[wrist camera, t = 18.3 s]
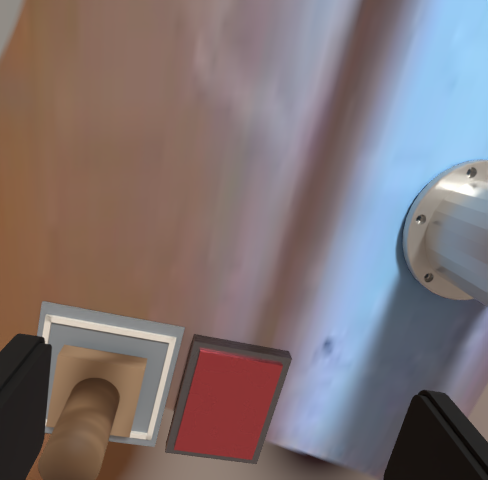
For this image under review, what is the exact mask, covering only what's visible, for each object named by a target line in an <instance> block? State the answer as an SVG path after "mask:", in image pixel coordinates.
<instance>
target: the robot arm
mask: <svg viewBox="0 0 488 480" xmlns="http://www.w3.org/2000/svg"><path fill="white" fill-rule="evenodd" d="M417 217H418V218H417ZM416 218H417V219H416ZM403 252H404V258H405V260H406V263H407V266H408V268H409V270H410V271H411V273H412V274H413V276H414V278H415V279H416V280H417V281H418V282H420V283H421V284H422V285H423V286H424V287H425V288H427V289H428V290H430V291H431V292H432V293H435V294H437V295H439V296H441V297H444V298H448V299H453V300H471V299H476V300H478V301H479V302H481V303H482V304H484V305H485V306H487V307H488V160H483V159H480V160H473V161H467V162H464V163H461V164H458V165H455V166H453V167H451V168H449V169H447V170H445V171H444V172H442V173H440V174H439V175H438V176H437V177H435V178H434V179H433V180H432V181H430V182H429V183H428V184H427V186H426V187H425V188H424V189H423V190H422V191H421V192H420V193H419V195H418V197H417V198H416V200H415V201H414V203H413V204H412V206H411V209H410V211H409V213H408V216H407V218H406V222H405V226H404V230H403ZM51 355H52V346H51V344H45V339H44V337H40V336H33V335H26V334H17V335H16V336H15V337H14V338H13V339H12V340H11V341H10V342H9V343H8V344H7V345H6V346H5V347H4V348H3V349H2V350H1V352H0V480H25V479H26V477H27V475H28V473H29V471H30V469H31V467H32V466H33V464H34V462H35V460H36V458H37V456H38V454H39V452H40V450H41V447H42V444H43V440H44V435H45V423H46V412H47V400H48V389H49V378H50V366H51ZM384 480H488V442H487V441H486V440H485V439H484V437H483V436H482V435H481V434H480V433H479V432H478V430H477V429H476V428H475V427H474V426H473V425H472V423H471V422H470V421H469V420H468V419H467V418H466V416H465V415H464V414H463V413H462V412H461V410H460V409H459V408H458V407H457V406H456V405H455V403H454V402H453V401H452V400H451V399H450V398H449V396H448V395H446V394H445V393H441V392H434V391H427V390H423V391H420V392H419V394H418V395H415V396H414V397H413V398H412V400H411V403H410V406H409V408H408V411H407V414H406V416H405V419H404V422H403V424H402V427H401V430H400V433H399V435H398V438H397V441H396V443H395V446H394V449H393V451H392V454H391V457H390V459H389V462H388V465H387V468H386V470H385V473H384Z"/></svg>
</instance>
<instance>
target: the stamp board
mask: <svg viewBox="0 0 488 480" xmlns="http://www.w3.org/2000/svg"><path fill="white" fill-rule="evenodd" d="M184 329H185V327H180V326H175V325H169V324H164V323H158V322H153V321H148V320H142V319H137V318H131V317H126V316H121V315H115V314H110V313H104V312H99V311H93V310H88V309H83V308H77V307H72V306H66V305H61V304H55V303H50V302H45V301H43V302H42V306H41V313H40V320H39V326H38V333H37V336H40V337H44V339H45V344H51V346H52V355H51V366H50V378H49V389H48V400H47V412H46V423H45V433H51V434H52V432H53V429H54V427H46V424H47V418H48V411H49V405H50V399H51V393H52V387H53V381H54V375H55V369H56V363H57V357H58V354H59V352H60V351H61V349H62V347H63V346H64V345H70V346H77V347H83V348H89V349H95V350H101V351H107V352H113V353H119V354H125V355H131V356H137V357H142V358H147V363H146V368H145V373H144V377H143V381H142V386H141V390H140V394H139V399H138V403H137V407H136V412H135V416H134V420H133V425H132V429H131V433H130V438H129V437H122V436H114V435H110V437H109V440H108V441H112V442H120V443H128V444H135V445H143V446H151V447H155V443H156V440H157V436H158V432H159V428H160V423H161V419H162V416H163V412H164V408H165V404H166V400H167V396H168V392H169V388H170V384H171V380H172V376H173V372H174V368H175V364H176V360H177V356H178V352H179V348H180V344H181V340H182V336H183V332H184Z"/></svg>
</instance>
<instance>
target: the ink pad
mask: <svg viewBox="0 0 488 480" xmlns="http://www.w3.org/2000/svg"><path fill="white" fill-rule="evenodd" d="M291 360H292V358H291V355H290V353H289V351H283V350H278V349H273V348H267V347H262V346H256V345H251V344H245V343H240V342H234V341H229V340H223V339H218V338H212V337H207V336H201V335H196V334H194V338H193V341H192V345H191V349H190V353H189V357H188V361H187V365H186V368H185V372H184V376H183V380H182V384H181V388H180V391H179V395H178V399H177V403H176V407H175V411H174V415H173V418H172V422H171V426H170V430H169V434H168V438H167V441H166V449H165V452H166V453H174V454H182V455H190V456H197V457H206V458H214V459H221V460H229V461H237V462H244V463H252V464H257V461H258V458H259V455H260V452H261V449H262V446H263V443H264V440H265V437H266V434H267V431H268V428H269V425H270V422H271V419H272V416H273V413H274V410H275V407H276V405H277V402H278V399H279V396H280V393H281V390H282V387H283V384H284V381H285V378H286V375H287V372H288V369H289V366H290V363H291Z"/></svg>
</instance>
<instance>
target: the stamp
mask: <svg viewBox="0 0 488 480" xmlns="http://www.w3.org/2000/svg"><path fill="white" fill-rule="evenodd" d="M146 363H147V358H142V357H137V356H131V355H125V354H119V353H113V352H107V351H101V350H95V349H89V348H83V347H77V346H70V345H64V346H63V347H62V349H61V351H60V352H59V354H58V357H57V363H56V369H55V375H54V381H53V387H52V393H51V399H50V405H49V411H48V418H47V424H46V427H54V429H53V432H52V434H51V436H50V438H49V440H48V442H47V444H46V446H45V449H44V451H43V453H42V455H41V457H40V459H39V463H38V470H39V473H40V475H41V477H42V478H43V479H44V480H95V479H96V478H97V476H98V474H99V472H100V468H101V465H102V461H103V458H104V454H105V451H106V447H107V444H108V440H109V437H110V435H114V436H122V437H129V438H130V433H131V429H132V425H133V420H134V416H135V412H136V407H137V403H138V399H139V394H140V390H141V386H142V381H143V377H144V373H145V368H146Z"/></svg>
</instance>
